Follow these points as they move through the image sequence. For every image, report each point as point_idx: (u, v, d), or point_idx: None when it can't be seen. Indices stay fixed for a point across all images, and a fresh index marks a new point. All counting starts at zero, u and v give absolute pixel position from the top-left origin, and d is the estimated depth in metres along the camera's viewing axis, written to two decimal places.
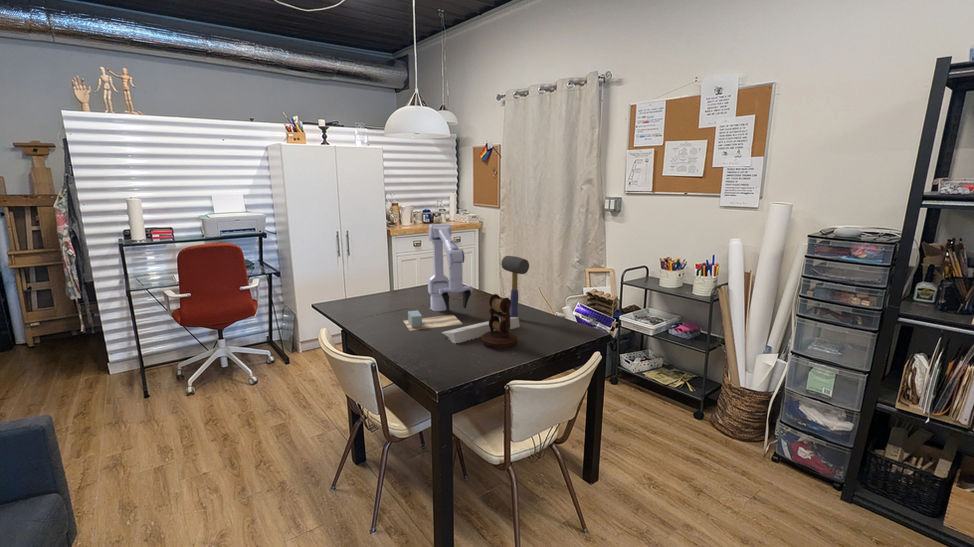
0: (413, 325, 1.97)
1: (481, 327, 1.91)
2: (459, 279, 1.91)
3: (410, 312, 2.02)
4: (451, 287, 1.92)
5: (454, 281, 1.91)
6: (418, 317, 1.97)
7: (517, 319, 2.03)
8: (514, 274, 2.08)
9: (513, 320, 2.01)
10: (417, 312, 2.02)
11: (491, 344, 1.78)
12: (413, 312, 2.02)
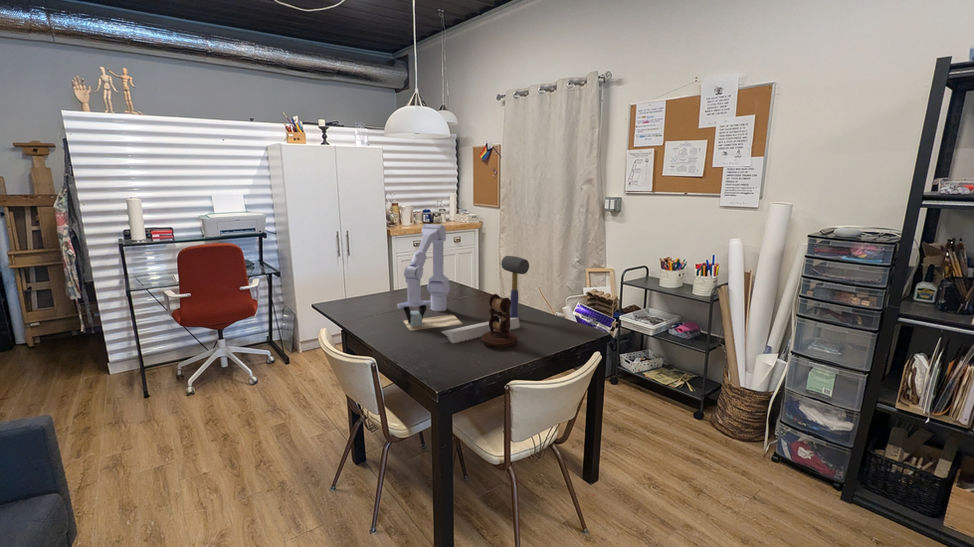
0: (413, 325, 1.97)
1: (480, 327, 1.91)
2: (417, 294, 1.96)
3: (410, 312, 2.02)
4: (409, 302, 1.97)
5: (412, 296, 1.96)
6: (418, 317, 1.97)
7: (517, 320, 2.02)
8: (514, 274, 2.08)
9: (513, 321, 2.01)
10: (417, 312, 2.02)
11: (491, 344, 1.78)
12: (413, 312, 2.02)
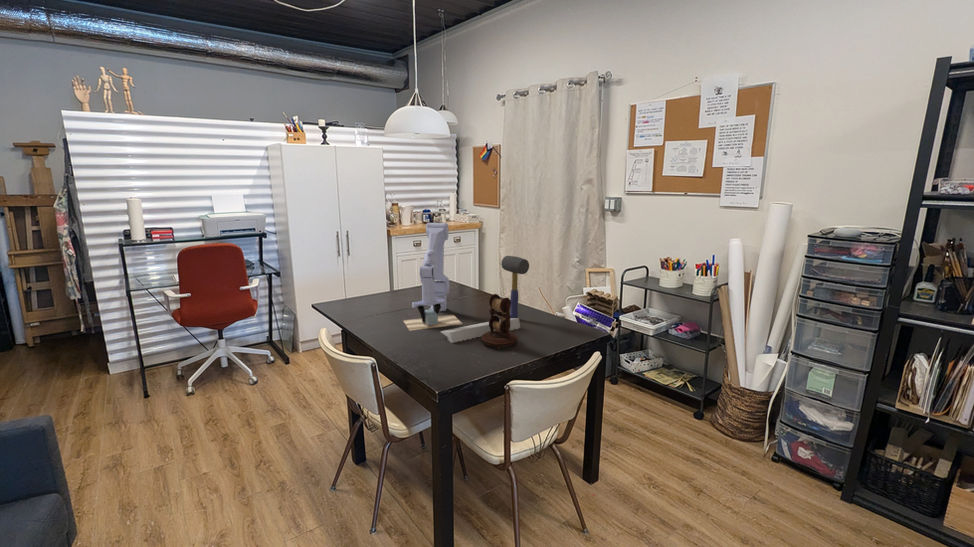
0: (429, 324, 1.99)
1: (479, 327, 1.91)
2: (431, 293, 1.99)
3: (425, 311, 2.03)
4: (424, 301, 1.99)
5: (426, 295, 1.98)
6: (434, 315, 1.99)
7: (517, 320, 2.01)
8: (514, 274, 2.08)
9: (513, 321, 2.00)
10: (431, 311, 2.03)
11: (491, 344, 1.78)
12: (427, 311, 2.03)
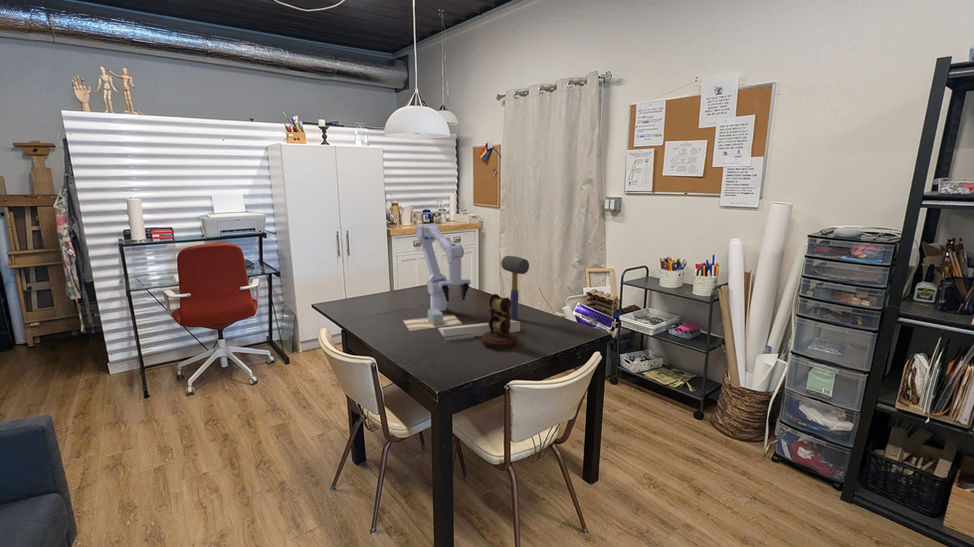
0: (435, 323, 2.00)
1: (475, 327, 1.92)
2: (458, 273, 2.05)
3: (430, 310, 2.04)
4: (450, 280, 2.06)
5: (453, 275, 2.05)
6: (439, 315, 2.00)
7: (518, 323, 1.98)
8: (514, 274, 2.08)
9: (513, 324, 1.97)
10: (437, 311, 2.04)
11: (491, 344, 1.78)
12: (433, 311, 2.04)
